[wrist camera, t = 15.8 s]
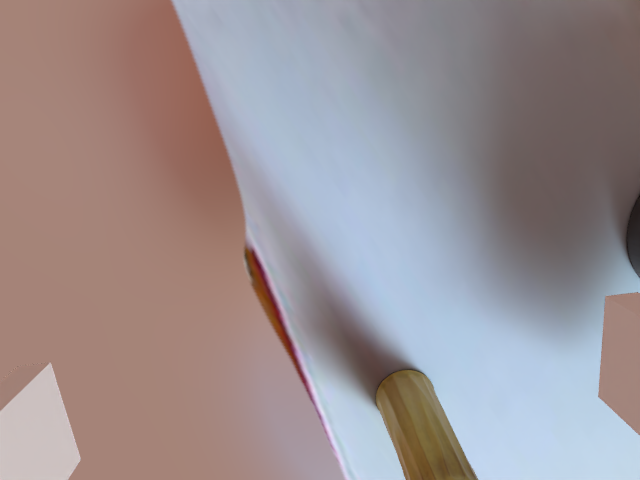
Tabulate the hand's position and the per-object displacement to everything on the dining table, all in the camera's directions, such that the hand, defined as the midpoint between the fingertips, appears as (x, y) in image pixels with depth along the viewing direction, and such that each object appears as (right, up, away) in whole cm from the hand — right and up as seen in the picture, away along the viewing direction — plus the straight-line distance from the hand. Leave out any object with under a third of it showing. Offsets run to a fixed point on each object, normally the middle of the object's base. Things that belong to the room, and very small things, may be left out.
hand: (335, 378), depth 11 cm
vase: (+8, -13, +35) cm, 38 cm away
